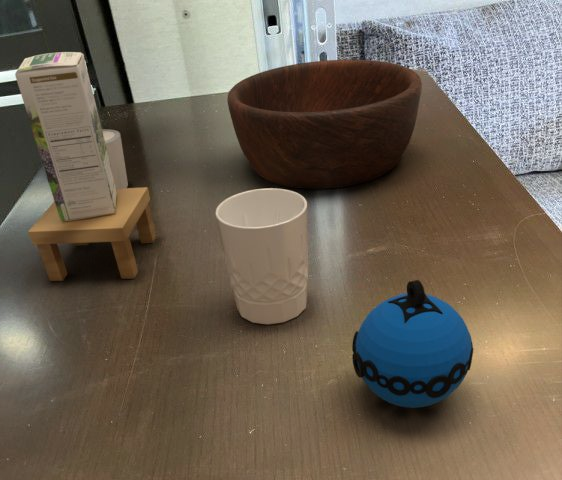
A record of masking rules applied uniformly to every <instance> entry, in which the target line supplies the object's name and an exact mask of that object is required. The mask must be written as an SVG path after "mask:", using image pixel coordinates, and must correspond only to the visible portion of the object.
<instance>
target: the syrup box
mask: <svg viewBox="0 0 562 480" xmlns="http://www.w3.org/2000/svg"><path fill="white" fill-rule="evenodd" d="M14 76H15V80H16V82H17V86H18V89H19V92H20V95H21V98H22V101H23V105H24V107H25V111H26V115H27V118H28V121H29V124H30V127H31V131H32V134H33V137H34V141H35V144H36V147H37V150H38V153H39V156H40V160H41V163H42V166H43V170H44V172H45V176H46V179H47V183H48V185H49V188H50V192H51V195H52V198H53V202H54V201H55V204H56V208H57V211H58V214H59V217H60V220H61V221H63V222H64V221H72V220H78V219H84V218H90V217H97V216H102V215H108V214H114V213H115V212H116V198H117V189H116V185H115V181H114V177H113V172H112V168H111V164H110V160H109V156H108V152H107V148H106V144H105V140H104V136H103V132H102V129H103V128H102V124H101V120H100V115H99V112H98V107H97V104H96V100H95V99H96V98H95V95H94V92H93V87H92V84H91V80H90V75H89V72H88V67H87V63H86V59H85V55H84V53H82V52H81V51H79V52H78V51H62V52H61V51H60V52H58V51H57V52H49V53H42V54H37V55H33V56H32V55H31V56H29V57H26V58H24V59H23V61H22V62H21V64H20V65H19V67H18V68H17V70H16V71H15V74H14Z"/></svg>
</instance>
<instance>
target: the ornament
mask: <svg viewBox="0 0 562 480" xmlns="http://www.w3.org/2000/svg"><path fill="white" fill-rule="evenodd" d="M423 285H424V284H422V282H421V281H420V280H419V279H415V280H411V281H408V282H407V285H406V293H400V294H398V295H394V296H392V297H390V298H388V299H385V300H383V301H382V302H380V303H379V304H377V305H376V306H375V307H374V308H373V309H371V310H370V312H369V313H368V314H367V315H366V317H365V318H364V320H362V323H361V325H360V326H359V329H358V330H357V331H355V332H354V335H353V337H352V345H351V348H352V352H353V353H352V356H351V357H352V366H353V369H354V372H355V374H356V376H357V377H358V378H359V379H362V381H363V382H364V383H365V385H366V386H367V387H368V388H369V390H370V391H371V392H372V393H373V394H374V395H375V396H377V397H379V398H380V399H381V400H383V401H385V402H387V403H389V404H391V405H394V406H397V407H402V408H412V409H413V408H415V409H416V408H425V407H429V406H432V405H434V404H435V405H436V404H437V403H439V402H442V401H443V400H445V399H446V398H448V397H449V396H451V394H452V393H454V392H455V391H456V390H457V389H458V388H459V387H460V385H461V384H462V383H463V381H464V379H465V378H466V376H467V374H468V371H471V366H472V362H473V356H474V346H473V340H472V336H471V333H470V331H469V328H468V326H467V324H466V322H465V320H464V319H463V317H462V316H461V314H459V312H458V311H457V310H456V309H455V308H454V307H452V306H451V305H450V304H449V303H447V302H446V301H444V300H442V299H440V298H438V297H436V296H433V295H431V294H426V292H425V288H424V286H423Z"/></svg>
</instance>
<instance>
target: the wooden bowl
mask: <svg viewBox="0 0 562 480" xmlns="http://www.w3.org/2000/svg"><path fill="white" fill-rule="evenodd" d="M422 87H423V83H422V79H421V77H420V75H419V74H418V72H415V71H414V70H413V69H411V68H409V67H406V66H404V65H400V64H397V63H393V62H388V61H382V60H381V61H380V60H370V59H331V60H330V59H329V60H318V61H317V60H316V61H308V62H300V63H293V64H289V65H284V66H280V67H274V68H271V69H267V70H264V71H261V72H258V73H255V74H253V75H252V74H251V75H249V76H247V77H246V78H244V79H242V80H240V81H239V82H236V84H235V85H233V86H232V87H231V89H230V90H229V91H228V93H227V101H226V102H227V107H228V112H229V115H230V119H231V123H232V126H233V129H234V134H235V135H236V139H237V141H238V144H239V147H240V149H241V151H242V153H243V156H244V157H245V159H246V161H247V162H248V164H249V165H250V166H251V168H252V169H253V170H254V171H255V172H256V173H257V175H259V176H261V178H263V179H264V180H266V181H268V182H270V183H273V184H276V185H279V186H283V187H287V188H295V189H305V190H306V189H307V190H321V189H322V190H325V189H326V190H327V189H335V188H343V187H349V186H354V185H359V184H362V183H367V182H369V181H371V180H374V179H376V178H379V177H381V176H383V175H384V174H386V173H388V172H389V171H390V170H391V169H393V168H394V167H395V166H396V165H397V164H398V163H399V161H400V159H401V158H403V155H404V153H405V151H406V150H407V148H408V146H409V144H410V141H411V139H412V136H413V133H414V130H415V126H416V123H417V117H418V112H419V106H420V101H421V96H422Z"/></svg>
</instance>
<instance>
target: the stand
mask: <svg viewBox="0 0 562 480" xmlns="http://www.w3.org/2000/svg"><path fill="white" fill-rule="evenodd" d="M150 202H151V195H150V192H149V187H147V186H146V187H144V186H143V187H127V188H122V189H117V198H116V212H115V213H114V214H108V215H102V216H97V217H90V218H84V219H78V220H72V221H64V222H63V221H61V220H60V217H59V214H58V211H57V208H56V204H55V201H54V200H53V202H52V204H51V205H50V206H49V207H48V208H47V209H45V211H44V212H43V214H42V215H41V216H40V217H39V218H38V220H37V221H36V222H35V223H34V224H33V225H32V226H31V228H29V230H28V231H27V233H28V235H29V236H28V237H29V238H30V241H31V243H32V245H36V248H37V250H38V253H39V255H40V258H41V260H42V263H43V266H44V269H45V271H46V274H47V277H48V280H49V281H50V282H63V281H64V280H65V278H66V277H67V275H68V271H67V268H66V265H65V261H64V259H63V257H62V254H61V250H60V248H59V245H58V244H74V246H76V247H77V246H78V247H79V246H80V247H81V246H89V244H90V243H110V244H111V247H112V250H113V254H114V258H115V262H116V265H117V268H118V271H119V276H120V278H121V280H128V279H129V280H133V279H136V278H137V275H138V273H139V269H138V265H137V262H136V258H135V254H134V250H133V247H132V242H131V238H130V235H131V233H132V231H133V230H134V228H135V227H136V229H137V233H138V237H139V241H140V243H141V244H154V242H155V241H156V239H157V234H156V230H155V225H154V221H153V217H152V212H151V208H150V204H149V203H150Z"/></svg>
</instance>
